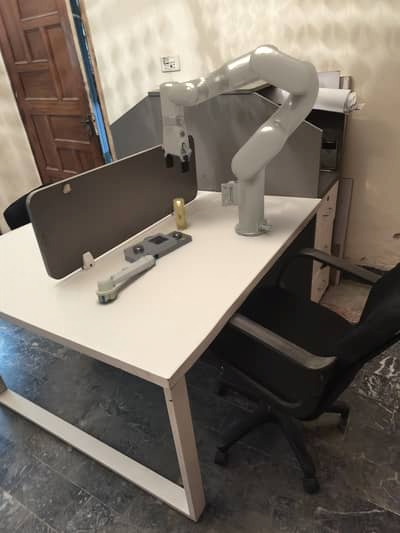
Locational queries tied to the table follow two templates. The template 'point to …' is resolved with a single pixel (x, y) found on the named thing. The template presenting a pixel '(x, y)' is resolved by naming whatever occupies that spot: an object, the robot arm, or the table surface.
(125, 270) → the toothbrush head
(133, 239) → the table surface
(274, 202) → the table surface
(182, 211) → the brass pin
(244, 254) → the table surface
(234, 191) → the hinge
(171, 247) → the plate
